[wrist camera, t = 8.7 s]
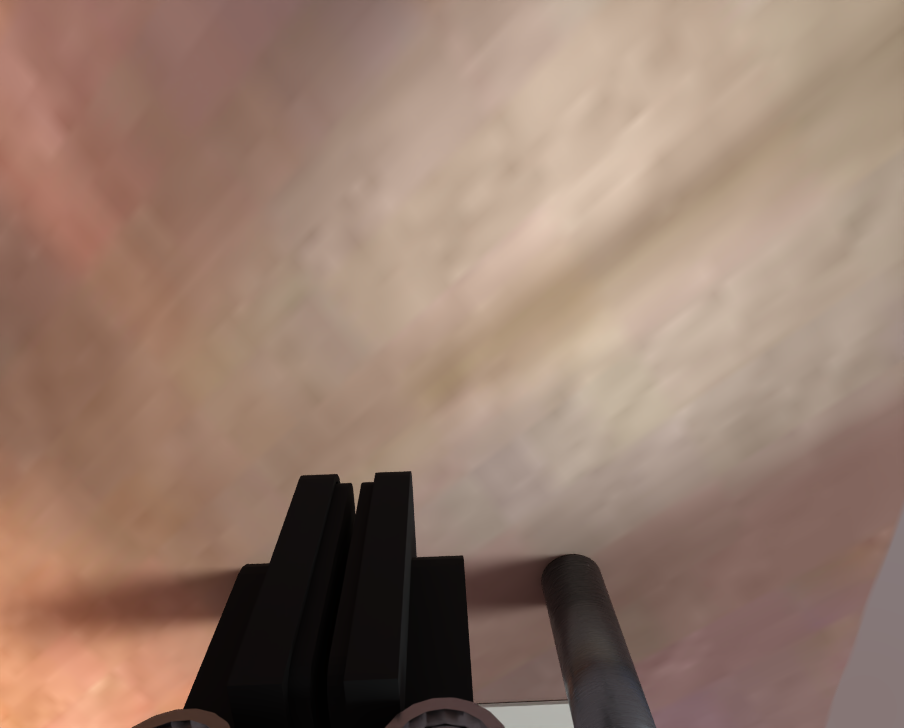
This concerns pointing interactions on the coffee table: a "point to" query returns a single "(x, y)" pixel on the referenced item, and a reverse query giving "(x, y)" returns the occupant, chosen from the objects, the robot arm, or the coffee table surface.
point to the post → (592, 648)
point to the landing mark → (532, 714)
